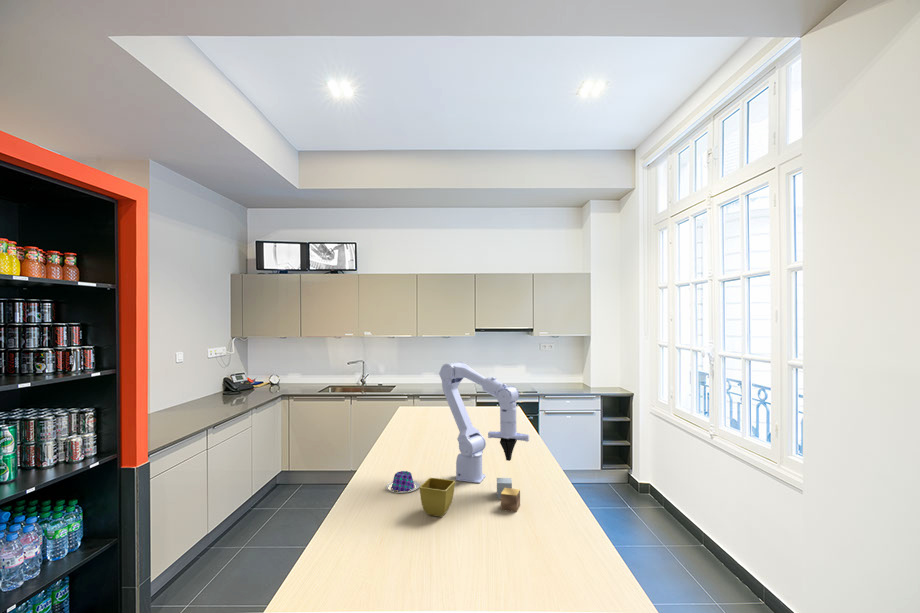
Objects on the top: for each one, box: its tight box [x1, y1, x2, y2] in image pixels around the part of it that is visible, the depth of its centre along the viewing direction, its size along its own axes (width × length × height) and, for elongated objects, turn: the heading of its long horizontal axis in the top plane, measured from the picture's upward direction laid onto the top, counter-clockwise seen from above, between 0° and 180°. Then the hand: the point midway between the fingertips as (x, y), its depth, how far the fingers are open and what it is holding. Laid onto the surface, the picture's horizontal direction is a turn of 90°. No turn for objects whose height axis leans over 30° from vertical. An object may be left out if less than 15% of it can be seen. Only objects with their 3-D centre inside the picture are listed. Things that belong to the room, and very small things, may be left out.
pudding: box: [385, 470, 421, 494], centre depth 159 cm, size 12×12×5 cm
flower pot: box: [419, 477, 456, 518], centre depth 138 cm, size 9×9×9 cm
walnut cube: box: [500, 487, 521, 513], centre depth 141 cm, size 5×5×5 cm
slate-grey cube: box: [496, 477, 513, 499], centre depth 151 cm, size 5×5×5 cm
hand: (508, 459), depth 157 cm, fingers closed
